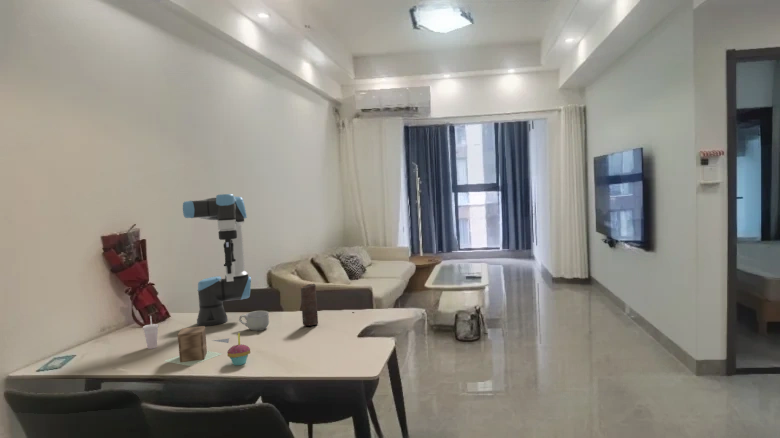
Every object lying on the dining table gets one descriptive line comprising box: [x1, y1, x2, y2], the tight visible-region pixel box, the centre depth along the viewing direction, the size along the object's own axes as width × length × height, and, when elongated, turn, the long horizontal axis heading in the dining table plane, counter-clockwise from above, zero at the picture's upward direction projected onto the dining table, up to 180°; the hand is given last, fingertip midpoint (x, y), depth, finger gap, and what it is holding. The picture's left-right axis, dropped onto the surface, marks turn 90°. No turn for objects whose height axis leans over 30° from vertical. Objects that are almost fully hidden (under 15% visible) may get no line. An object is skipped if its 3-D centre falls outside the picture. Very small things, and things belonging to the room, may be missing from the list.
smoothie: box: [142, 315, 159, 350], centre depth 228 cm, size 6×6×14 cm
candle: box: [300, 283, 319, 327], centre depth 251 cm, size 8×7×20 cm
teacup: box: [238, 310, 270, 332], centre depth 250 cm, size 14×11×8 cm
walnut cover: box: [177, 325, 208, 362], centre depth 208 cm, size 9×10×11 cm
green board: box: [164, 350, 223, 367], centre depth 208 cm, size 16×16×1 cm
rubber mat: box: [211, 338, 230, 344], centre depth 227 cm, size 16×12×1 cm
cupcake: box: [226, 332, 251, 366], centre depth 198 cm, size 9×8×12 cm
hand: (231, 279), depth 224 cm, fingers open, 13 cm apart
